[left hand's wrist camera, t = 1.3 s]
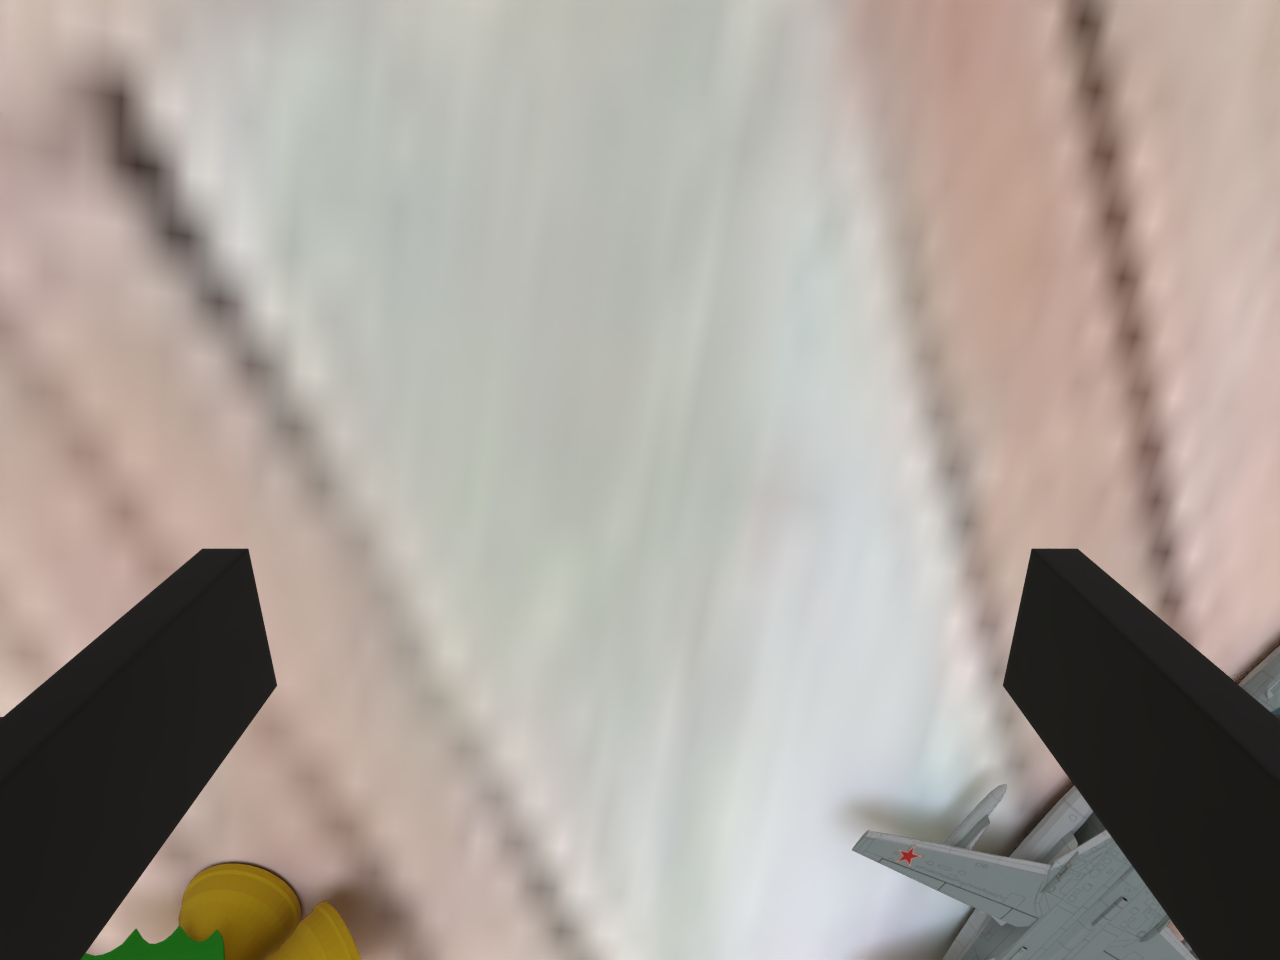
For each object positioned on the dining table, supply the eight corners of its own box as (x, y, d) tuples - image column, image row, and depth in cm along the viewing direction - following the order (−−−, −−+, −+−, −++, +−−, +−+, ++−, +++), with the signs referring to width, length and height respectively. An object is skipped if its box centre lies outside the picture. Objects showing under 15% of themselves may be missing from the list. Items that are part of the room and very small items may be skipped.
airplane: (1269, 1012, 56) (1400, 1173, 47) (841, 1049, 57) (884, 1216, 47) (1383, 540, 44) (1592, 630, 34) (832, 593, 44) (888, 697, 35)
